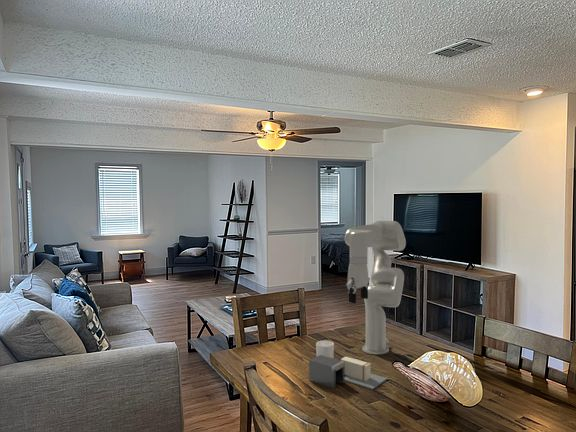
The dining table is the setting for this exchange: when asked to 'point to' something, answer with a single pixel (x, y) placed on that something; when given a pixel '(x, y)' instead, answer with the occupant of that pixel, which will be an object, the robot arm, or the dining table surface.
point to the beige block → (357, 368)
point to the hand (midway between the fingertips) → (358, 300)
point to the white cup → (325, 348)
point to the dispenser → (326, 371)
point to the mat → (370, 383)
